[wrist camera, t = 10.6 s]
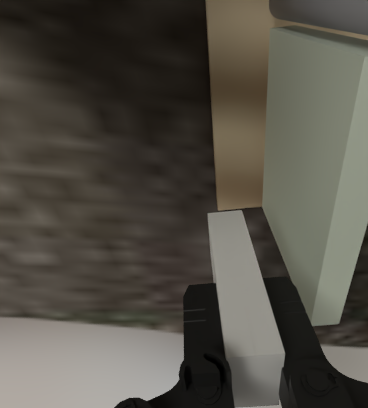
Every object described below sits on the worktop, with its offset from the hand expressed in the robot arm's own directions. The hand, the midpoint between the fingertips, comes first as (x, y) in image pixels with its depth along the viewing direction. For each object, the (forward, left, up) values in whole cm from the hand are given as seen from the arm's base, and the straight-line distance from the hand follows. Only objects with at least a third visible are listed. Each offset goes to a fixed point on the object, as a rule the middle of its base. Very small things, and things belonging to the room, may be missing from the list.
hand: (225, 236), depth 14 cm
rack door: (-3, +5, -6) cm, 8 cm away
